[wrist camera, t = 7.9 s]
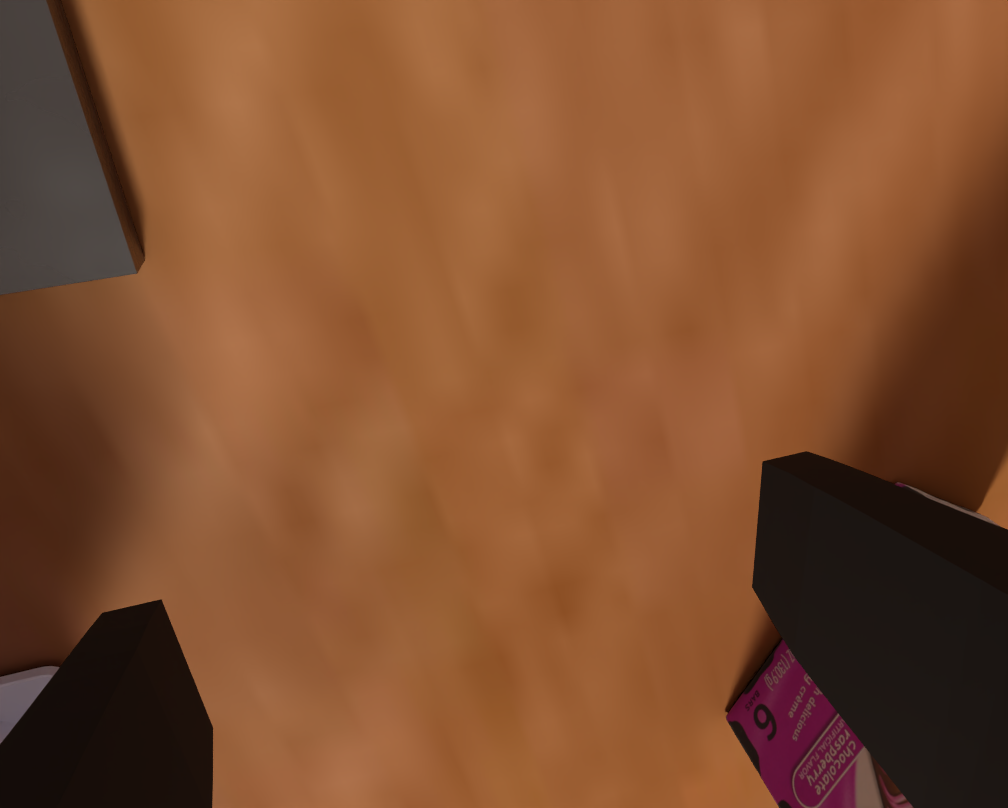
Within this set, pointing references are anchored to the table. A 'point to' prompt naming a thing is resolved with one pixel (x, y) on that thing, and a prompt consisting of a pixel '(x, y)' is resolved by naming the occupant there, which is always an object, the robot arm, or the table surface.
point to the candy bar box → (809, 736)
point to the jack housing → (54, 161)
